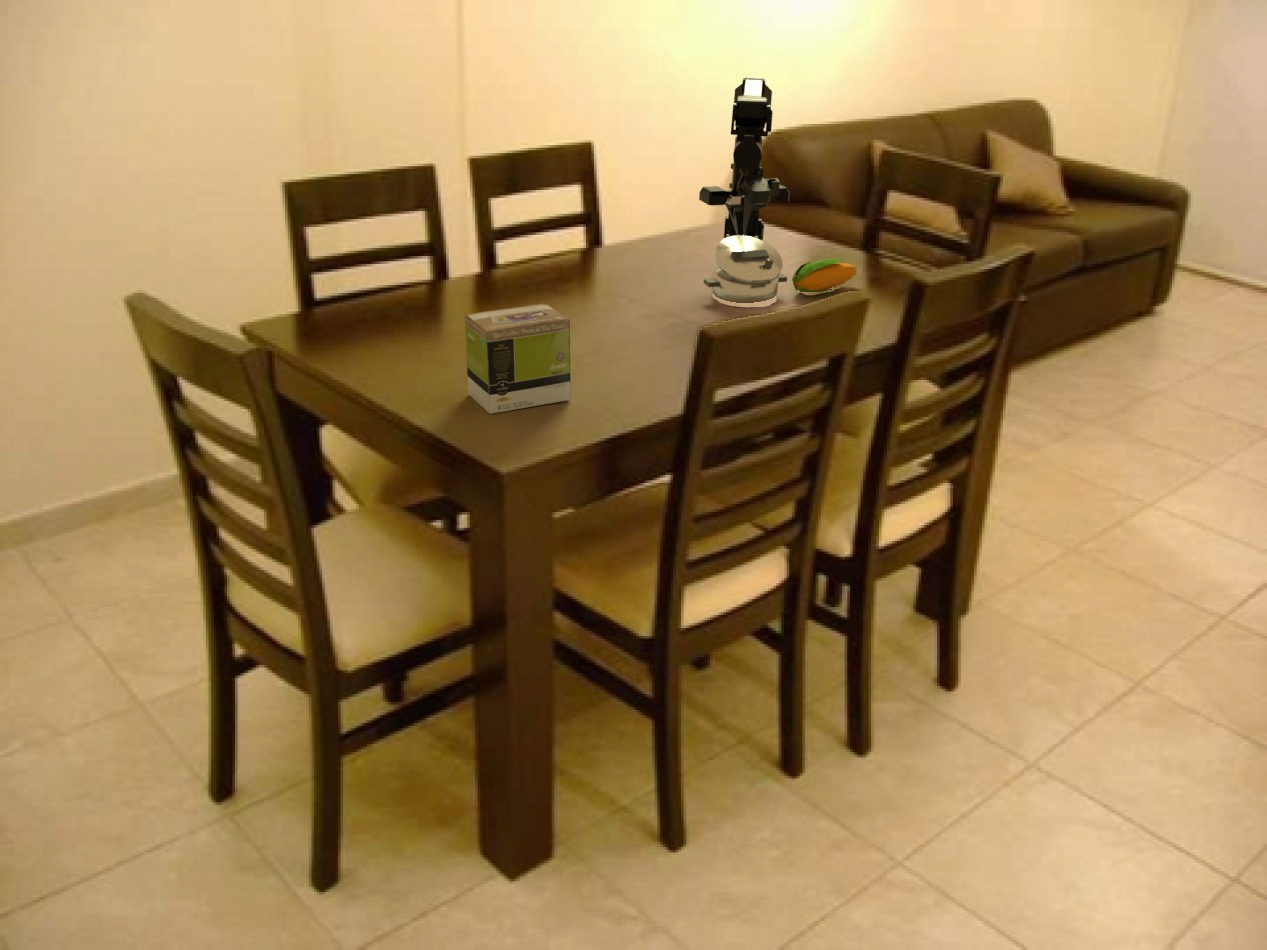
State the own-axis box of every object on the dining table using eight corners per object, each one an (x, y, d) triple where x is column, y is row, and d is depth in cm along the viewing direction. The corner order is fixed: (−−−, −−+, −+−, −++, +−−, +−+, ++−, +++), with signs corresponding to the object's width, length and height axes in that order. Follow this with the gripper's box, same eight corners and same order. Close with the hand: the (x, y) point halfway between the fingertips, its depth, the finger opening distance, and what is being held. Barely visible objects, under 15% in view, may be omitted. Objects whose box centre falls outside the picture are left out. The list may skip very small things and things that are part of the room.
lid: (705, 240, 257) (708, 231, 255) (766, 237, 262) (769, 227, 260) (729, 287, 249) (732, 278, 247) (792, 283, 253) (795, 273, 251)
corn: (785, 260, 259) (844, 247, 272) (780, 294, 263) (838, 279, 275) (811, 271, 255) (870, 256, 267) (805, 304, 258) (864, 289, 271)
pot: (692, 291, 262) (694, 269, 260) (768, 286, 268) (770, 264, 266) (718, 311, 251) (720, 287, 248) (796, 304, 257) (799, 281, 254)
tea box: (546, 382, 211) (547, 301, 204) (571, 402, 203) (572, 318, 196) (466, 394, 204) (464, 311, 198) (488, 416, 196) (487, 329, 190)
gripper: (722, 170, 240) (716, 246, 247) (805, 167, 246) (797, 241, 253) (700, 159, 250) (696, 233, 257) (780, 156, 256) (774, 229, 263)
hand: (741, 234), depth 257 cm, fingers closed
